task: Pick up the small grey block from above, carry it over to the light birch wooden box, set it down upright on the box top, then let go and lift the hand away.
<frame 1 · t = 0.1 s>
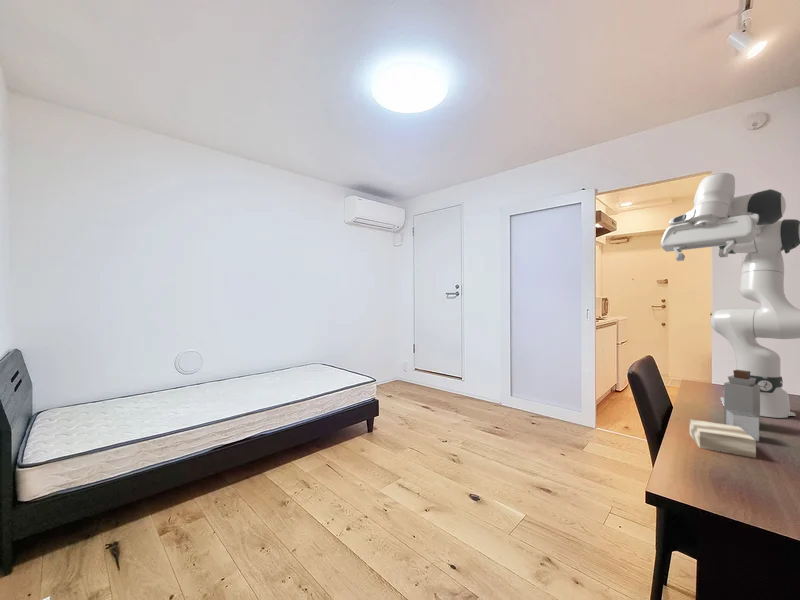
hand: (700, 258, 91), 54 cm above the table, tool tilted 30°, fingers open, 8 cm apart
perfume bottle: (741, 424, 107), on the table
grey block: (742, 436, 97), on the table
birch box: (719, 446, 91), on the table
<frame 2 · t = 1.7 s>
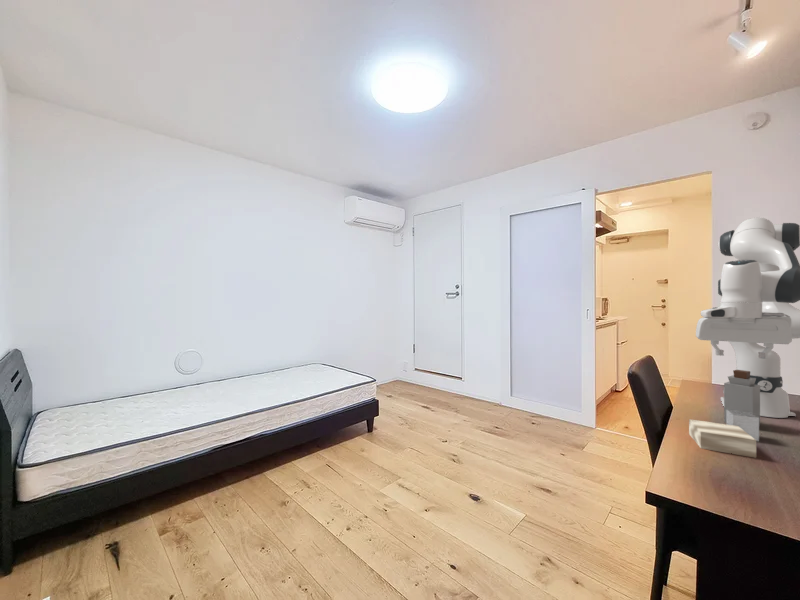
hand: (740, 356, 97), 25 cm above the table, tool pointing down, fingers open, 8 cm apart
nothing on the table moved.
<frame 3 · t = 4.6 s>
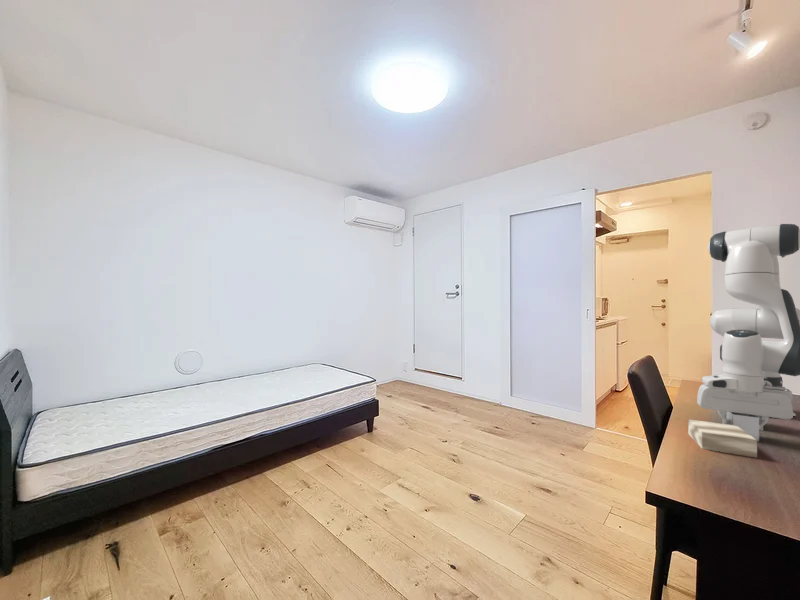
hand: (742, 427, 97), 3 cm above the table, tool pointing down, fingers closed on grey block, 5 cm apart
grey block: (742, 436, 97), on the table, touching gripper
everything else where it was.
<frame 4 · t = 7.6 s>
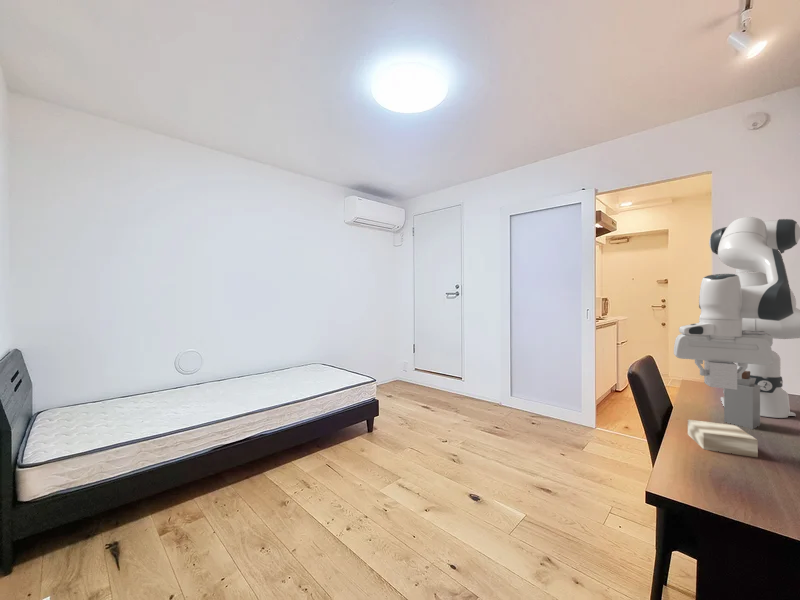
hand: (720, 377, 91), 20 cm above the table, tool pointing down, fingers closed on grey block, 5 cm apart
grey block: (720, 386, 91), point 17 cm above the table, touching gripper
everything else where it was.
when the fingers open (9 cm above the table, at t = 11.0 s): grey block drops 1 cm, point 5 cm above the table.
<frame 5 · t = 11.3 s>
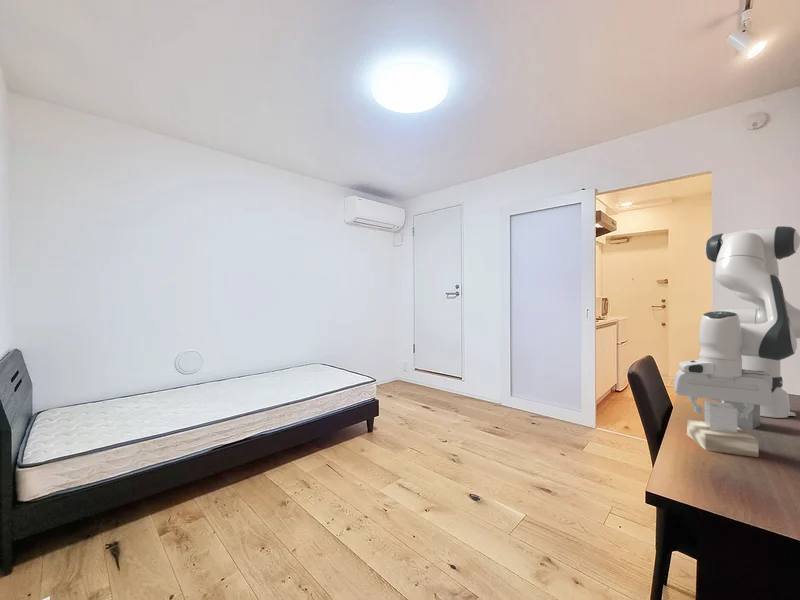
hand: (719, 415, 91), 9 cm above the table, tool pointing down, fingers open, 8 cm apart
grey block: (720, 428, 91), point 5 cm above the table
everything else where it was.
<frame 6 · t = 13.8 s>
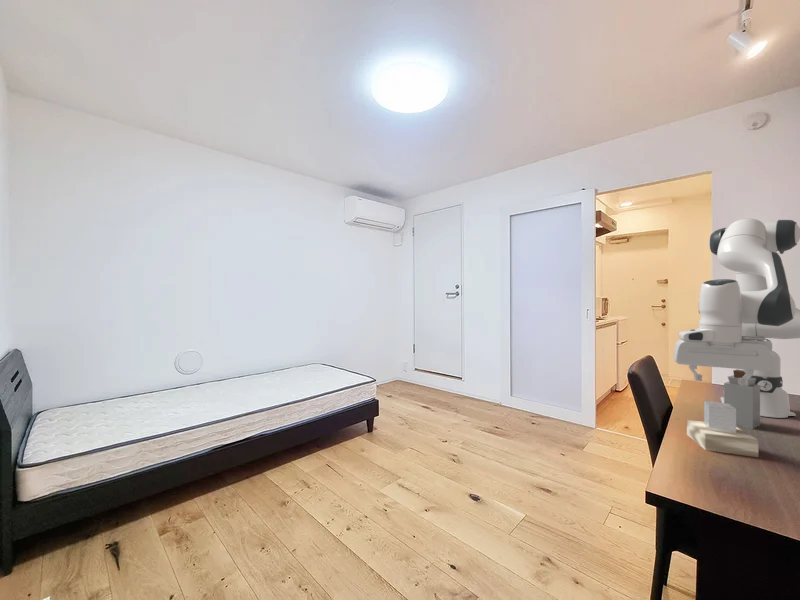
hand: (719, 382, 91), 18 cm above the table, tool pointing down, fingers open, 8 cm apart
grey block: (719, 428, 91), point 5 cm above the table, touching birch box
birch box: (719, 446, 91), on the table, touching grey block
everything else where it was.
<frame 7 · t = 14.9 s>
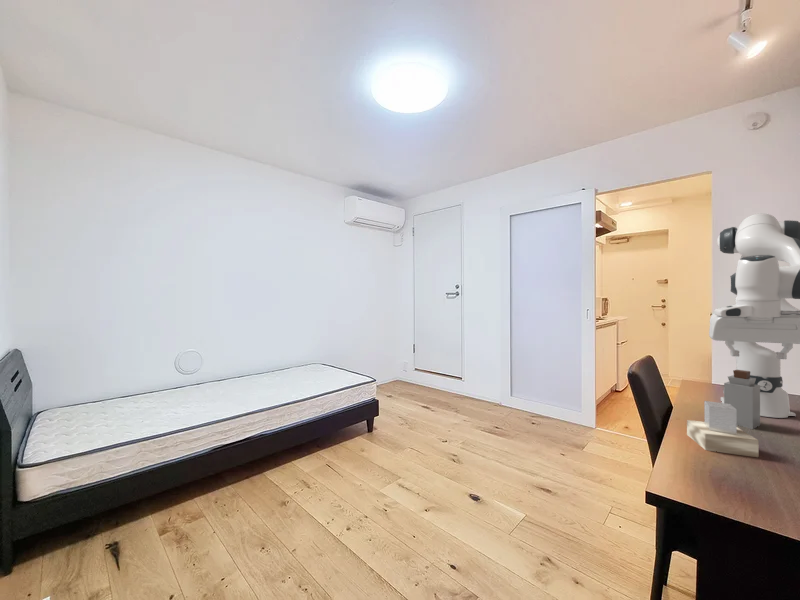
hand: (757, 357, 93), 25 cm above the table, tool pointing down, fingers open, 8 cm apart
grey block: (719, 429, 91), point 5 cm above the table
birch box: (719, 446, 91), on the table
everything else where it was.
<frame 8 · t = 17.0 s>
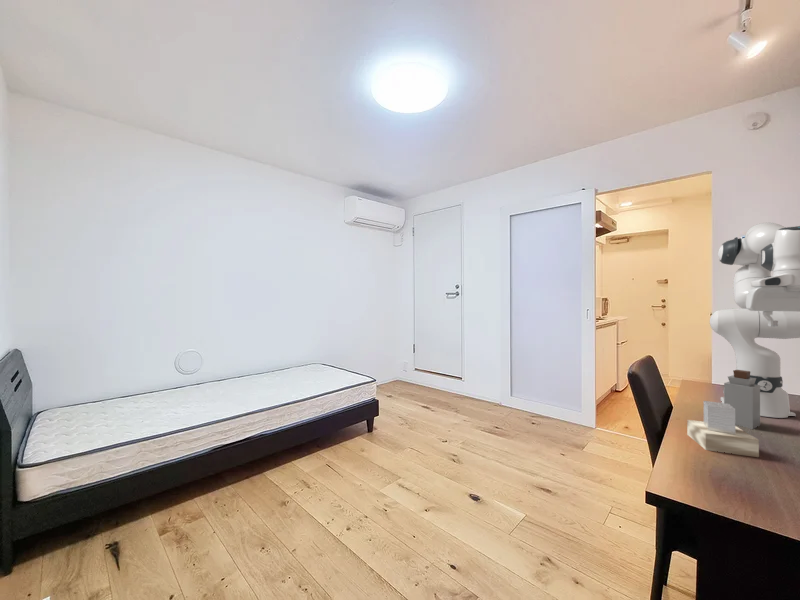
hand: (796, 327, 93), 34 cm above the table, tool pointing down, fingers open, 8 cm apart
nothing on the table moved.
at the end: grey block inside the target area on the birch box (0.4 cm from its centre), point 5.0 cm above the birch box's base; grey block tilted 0°; grey block touching birch box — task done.
